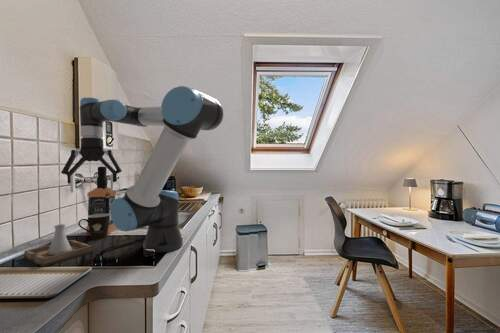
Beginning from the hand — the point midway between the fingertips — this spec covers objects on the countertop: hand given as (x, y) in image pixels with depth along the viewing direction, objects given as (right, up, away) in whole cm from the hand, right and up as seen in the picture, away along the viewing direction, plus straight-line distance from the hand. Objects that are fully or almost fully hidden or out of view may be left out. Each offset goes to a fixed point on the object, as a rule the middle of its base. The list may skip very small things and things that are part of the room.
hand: (93, 191), depth 98 cm
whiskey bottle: (-10, -22, +22) cm, 33 cm away
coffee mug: (-8, -23, +14) cm, 28 cm away
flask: (-7, -22, -8) cm, 24 cm away
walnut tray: (-7, -23, -8) cm, 25 cm away
